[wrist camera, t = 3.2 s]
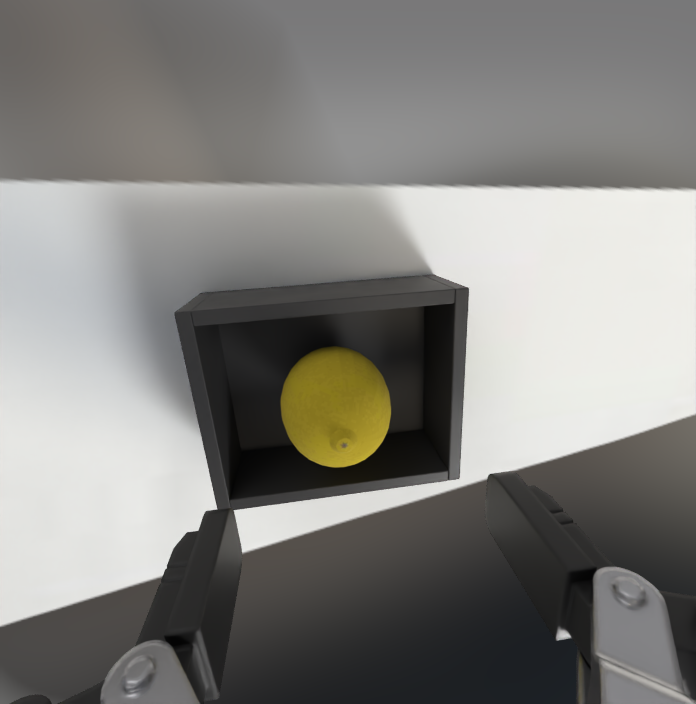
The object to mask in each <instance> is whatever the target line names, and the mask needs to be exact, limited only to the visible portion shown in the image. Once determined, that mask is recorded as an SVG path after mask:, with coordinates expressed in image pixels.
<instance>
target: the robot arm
mask: <svg viewBox="0 0 696 704" xmlns="http://www.w3.org/2000/svg"><path fill="white" fill-rule="evenodd" d="M485 517H486V522H487V526H488V529H489V531H490V533H491V535H492V536H493V538H494V540H495V541H496V543H497V545H498V546H499V548H500V550H501V551H502V553H503V554H504V556H505V558H506V559H507V561H508V563H509V564H510V566H511V568H512V569H513V571H514V573H515V574H516V576H517V578H518V579H519V581H520V582H521V584H522V586H523V587H524V589H525V590H526V592H527V594H528V595H529V597H530V599H531V600H532V602H533V604H534V605H535V607H536V609H537V610H538V612H539V614H540V615H541V617H542V619H543V620H544V622H545V623H546V625H547V627H548V629H549V630H550V632H551V633H552V635H553V637H554V638H555V640H562V639H567V638H572V639H573V641H574V642H575V643H576V645H577V647H578V653H577V685H576V704H696V596H690V595H684V594H676V593H670V592H664V591H658V590H657V589H656V588H655V587H654V586H653V585H651V583H649V582H648V581H647V580H645V579H644V578H643V577H641V576H639V575H637V574H635V573H633V572H631V571H629V570H626V569H623V568H618V567H615V566H614V565H613V564H612V563H611V562H610V560H609V559H608V558H607V557H606V556H605V555H604V554H603V553H602V552H601V551H600V549H599V548H598V547H597V546H596V545H595V544H594V543H593V542H592V541H591V540H590V538H589V537H588V536H587V535H586V534H585V533H584V532H583V531H582V530H581V529H580V527H579V526H577V524H576V523H573V520H572V519H571V518H570V517H569V516H568V514H567V513H566V512H563V509H562V508H561V507H560V506H559V504H558V503H557V502H556V501H555V500H554V499H553V498H552V497H551V496H550V495H548V494H547V493H545V492H543V491H542V490H540V489H539V488H537V487H536V486H527V485H526V483H525V482H524V481H523V480H522V479H521V478H520V477H519V475H518V474H517V473H516V472H514V471H509V472H501V473H494V474H490V475H489V476H488V480H487V493H486V506H485ZM241 566H242V549H241V543H240V539H239V534H238V529H237V524H236V519H235V515H234V511H233V509H232V508H226V509H218V510H211V511H206V512H205V514H204V516H203V519H202V522H201V525H200V528H199V531H195V532H187V533H186V534H185V536H184V537H183V538H182V539H181V540H180V542H179V543H178V544H177V545H176V546H175V548H174V549H173V552H172V554H171V557H170V559H169V562H168V564H167V569H166V570H165V572H164V575H163V577H162V580H161V584H160V585H159V587H158V590H157V593H156V595H155V598H154V601H153V603H152V605H151V608H150V610H149V613H148V615H147V618H146V621H145V623H144V626H143V628H142V631H141V633H140V636H139V639H138V641H137V643H136V645H135V647H134V648H133V649H131V650H130V651H128V652H127V653H126V654H125V655H123V656H122V657H121V658H120V659H119V660H118V661H117V663H116V664H115V665H114V666H113V667H112V669H111V671H110V672H109V673H108V675H107V677H106V679H104V680H103V681H102V682H100V683H98V684H97V685H95V686H93V687H91V688H89V689H87V690H85V691H83V692H81V693H79V694H77V695H74V696H72V697H71V698H68V699H66V700H64V701H62V702H60V703H58V704H204V701H208V700H213V699H219V694H220V688H221V682H222V676H223V671H224V665H225V659H226V653H227V647H228V642H229V636H230V630H231V625H232V619H233V613H234V607H235V601H236V596H237V590H238V585H239V579H240V573H241ZM11 704H52V703H51V701H50V700H49V699H48V698H47V697H46V696H43V695H29V696H26V697H23V698H20V699H18V700H16V701H14V702H12V703H11Z"/></svg>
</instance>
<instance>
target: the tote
mask: <svg viewBox="0 0 696 704" xmlns="http://www.w3.org/2000/svg"><path fill="white" fill-rule="evenodd" d="M468 297H469V288H467V287H465V286H462V285H459V284H457V283H454V282H452V281H449V280H446V279H444V278H441V277H438V276H436V275H422V276H409V277H396V278H384V279H371V280H359V281H346V282H334V283H321V284H308V285H296V286H283V287H271V288H258V289H246V290H233V291H221V292H208V293H200V294H199V295H198V296H197V297H195V298H194V299H192V300H191V301H190V302H188V303H187V304H186V305H184V306H183V307H182V308H180V309H179V310H177V311H176V312H175V313H174V314H175V318H176V323H177V328H178V332H179V337H180V341H181V346H182V350H183V355H184V359H185V364H186V368H187V373H188V377H189V382H190V387H191V391H192V396H193V400H194V405H195V409H196V414H197V418H198V423H199V427H200V432H201V436H202V441H203V446H204V450H205V455H206V459H207V464H208V468H209V473H210V477H211V482H212V486H213V491H214V495H215V500H216V505H217V509H226V508H232V509H233V510H238V509H245V508H252V507H260V506H267V505H274V504H281V503H289V502H296V501H303V500H311V499H318V498H325V497H332V496H340V495H347V494H354V493H361V492H369V491H376V490H383V489H390V488H398V487H405V486H412V485H420V484H427V483H434V482H441V481H447V480H455V479H459V478H460V458H461V438H462V418H463V398H464V377H465V357H466V337H467V317H468ZM332 346H337V347H344V348H349V349H351V350H354V351H356V352H359V353H360V354H362V355H363V356H365V357H366V358H367V359H369V360H370V361H371V362H372V363H373V364H374V365H375V366H376V368H377V369H378V370H379V372H380V373H381V374H382V376H383V378H384V381H385V383H386V386H387V388H388V391H389V396H390V405H391V417H390V423H389V428H388V431H387V433H386V436H385V438H384V440H383V442H382V443H381V444H380V446H379V447H378V448H377V449H376V451H375V452H374V453H373V454H371V455H370V456H369V457H368V458H366V459H365V460H363V461H361V462H359V463H357V464H355V465H351V466H347V467H328V466H323V465H320V464H318V463H316V462H313V461H311V460H309V459H308V458H307V457H305V456H304V455H303V454H301V453H300V452H299V451H298V450H297V448H296V447H295V446H294V444H293V443H292V441H291V440H290V438H289V436H288V434H287V431H286V429H285V426H284V423H283V420H282V415H281V395H282V390H283V385H284V382H285V380H286V378H287V376H288V374H289V372H290V371H291V369H292V368H293V367H294V365H295V364H296V363H297V362H298V361H299V360H300V359H301V358H302V357H304V356H305V355H307V354H309V353H310V352H312V351H315V350H317V349H320V348H323V347H332Z"/></svg>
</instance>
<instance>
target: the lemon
mask: <svg viewBox="0 0 696 704" xmlns="http://www.w3.org/2000/svg"><path fill="white" fill-rule="evenodd" d="M281 415H282V420H283V423H284V426H285V429H286V431H287V434H288V436H289V438H290V440H291V441H292V443H293V444H294V446H295V447H296V448H297V450H298V451H299V452H300V453H301V454H303V455H304V456H305V457H307V458H308V459H309V460H311V461H313V462H316V463H318V464H320V465H323V466H328V467H347V466H351V465H355V464H357V463H359V462H361V461H363V460H365V459H366V458H368V457H369V456H370V455H371V454H373V453H374V452H375V451H376V449H377V448H378V447H379V446H380V444H381V443H382V442H383V440H384V438H385V436H386V433H387V431H388V428H389V423H390V417H391V405H390V396H389V391H388V388H387V386H386V383H385V381H384V378H383V376H382V374H381V373H380V372H379V370H378V369H377V368H376V366H375V365H374V364H373V363H372V362H371V361H370V360H369V359H367V358H366V357H365V356H363V355H362V354H360V353H359V352H356V351H354V350H351V349H349V348H344V347H337V346H332V347H323V348H320V349H317V350H315V351H312V352H310V353H309V354H307V355H305V356H304V357H302V358H301V359H300V360H299V361H298V362H297V363H296V364H295V365H294V367H293V368H292V369H291V371H290V372H289V374H288V376H287V378H286V380H285V382H284V385H283V390H282V395H281Z"/></svg>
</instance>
